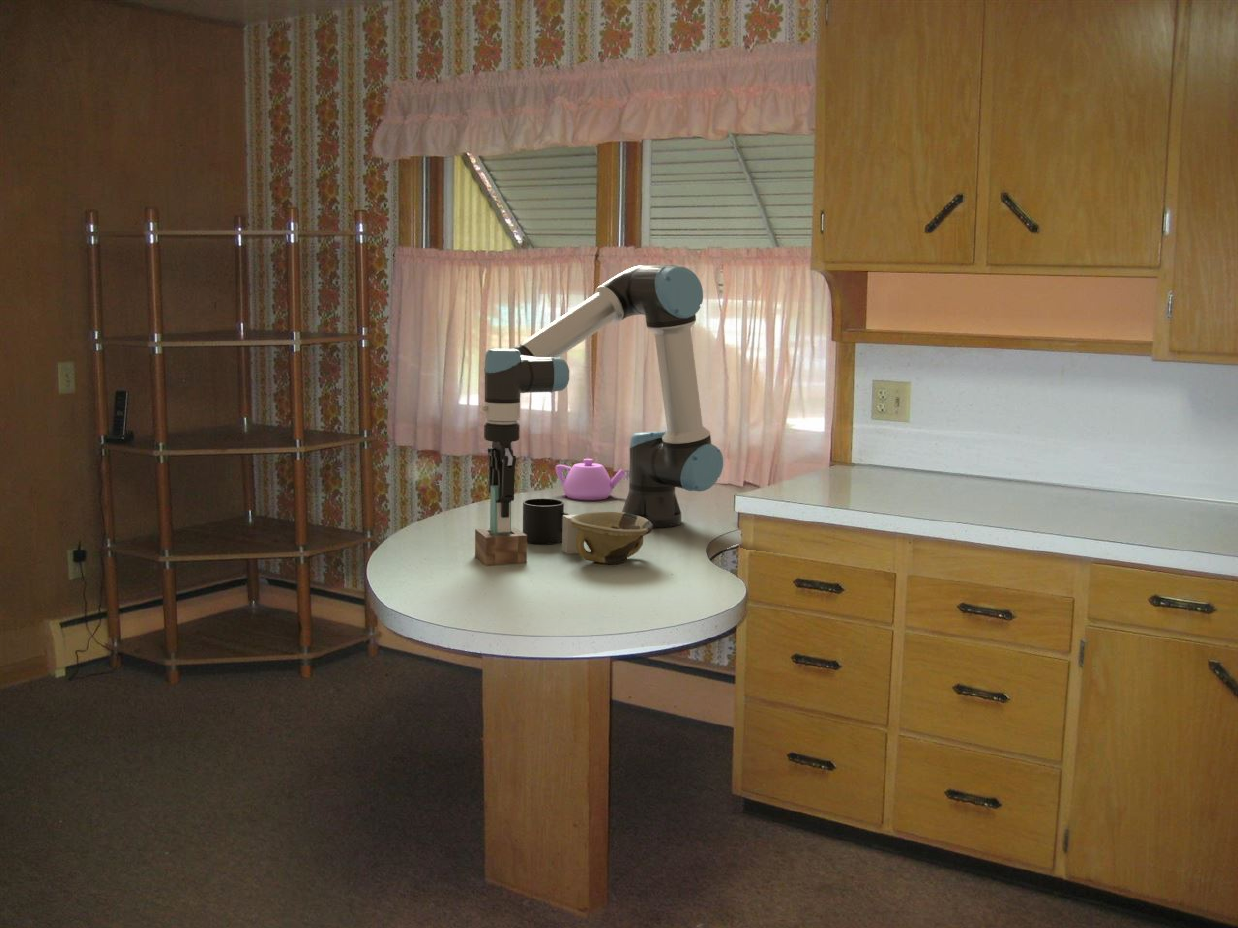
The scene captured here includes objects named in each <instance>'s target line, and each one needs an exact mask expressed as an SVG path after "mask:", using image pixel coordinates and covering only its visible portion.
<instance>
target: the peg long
mask: <svg viewBox="0 0 1238 928" xmlns="http://www.w3.org/2000/svg"><path fill="white" fill-rule="evenodd" d="M489 495H490V498H489V499H490V502H489V504H490V507H489V528H490V534H492V535H507V534H511V527H512V501H511V502H510V532H497V503H496V500H499V489H498V485H493V486H491V489H490V493H489Z"/></svg>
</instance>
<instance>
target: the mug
mask: <svg viewBox="0 0 1238 928" xmlns="http://www.w3.org/2000/svg"><path fill="white" fill-rule="evenodd" d="M564 507H565V504H564V501H563V500H559V499H554V498H531V499H526V500H524V501H523V502H522V532H523V533H524V534H526V535H527V544H531V545H532V544H533V545H554V544H559V543H561V542H562V524H563V515H570V514H569V513H567V512H565V511H564V509H565V508H564Z"/></svg>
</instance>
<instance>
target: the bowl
mask: <svg viewBox="0 0 1238 928" xmlns="http://www.w3.org/2000/svg"><path fill="white" fill-rule="evenodd" d="M575 515H576V516H573V517H572V518H571V519H570V521H571V525H572V527H574V528H577V530H578V531H579V532H578V536H577V539H576V549H577V552H578V553H577V554H578V555H579V556H580V557H581V558H583V559H585V560H586V561H590V562H595V563H599V564H605V565H619V564H622V563H624V562H625V561H627V559H628V558H630V557H631V556H633V555H635V554H636V553H638V552H639V551H640V549H641V548H642V547H643V546H644V545H643V544H644V536H646V535H648V534H650V533H651V532H652V529H653V524H652V523H651V522H650V521H649V520H647V519H645V518H643V517H640V516H637V515H633V514H629V513H623V512H622V511H595V512H584V513H583V512H582V513H579V514H575ZM585 544H586V545H587V547H588V549H589V550H590V551H588V550H587V549H586V548H585Z"/></svg>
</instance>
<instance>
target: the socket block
mask: <svg viewBox="0 0 1238 928" xmlns="http://www.w3.org/2000/svg"><path fill="white" fill-rule="evenodd" d="M474 532H475V533H474V556H475V558H477V559H478V560H479V561H480V562H481V563H482V564H484V565H485V566H498V565H501V566H502V565H513V564H527V563H528V542H527V535H526V534H524V533H523V530H522V531H521V530H520V529H518V528H517V527H516V526H511V534H507V535H492V534H490V527H489V528H488V527H486V528H475V529H474Z"/></svg>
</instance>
